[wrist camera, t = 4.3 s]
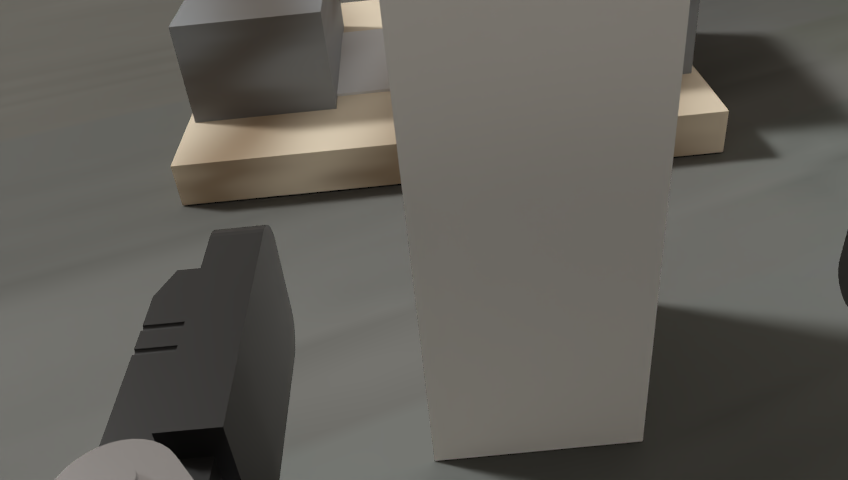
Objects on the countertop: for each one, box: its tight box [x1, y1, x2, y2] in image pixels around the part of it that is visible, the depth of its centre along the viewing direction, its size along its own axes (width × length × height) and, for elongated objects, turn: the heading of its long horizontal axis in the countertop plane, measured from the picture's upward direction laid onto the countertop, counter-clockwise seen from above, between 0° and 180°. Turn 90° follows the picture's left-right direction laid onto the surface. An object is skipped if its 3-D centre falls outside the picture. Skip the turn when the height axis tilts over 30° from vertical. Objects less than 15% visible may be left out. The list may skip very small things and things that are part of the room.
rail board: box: [169, 0, 729, 205], centre depth 31 cm, size 18×14×5 cm
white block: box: [379, 0, 690, 461], centre depth 16 cm, size 4×5×12 cm
